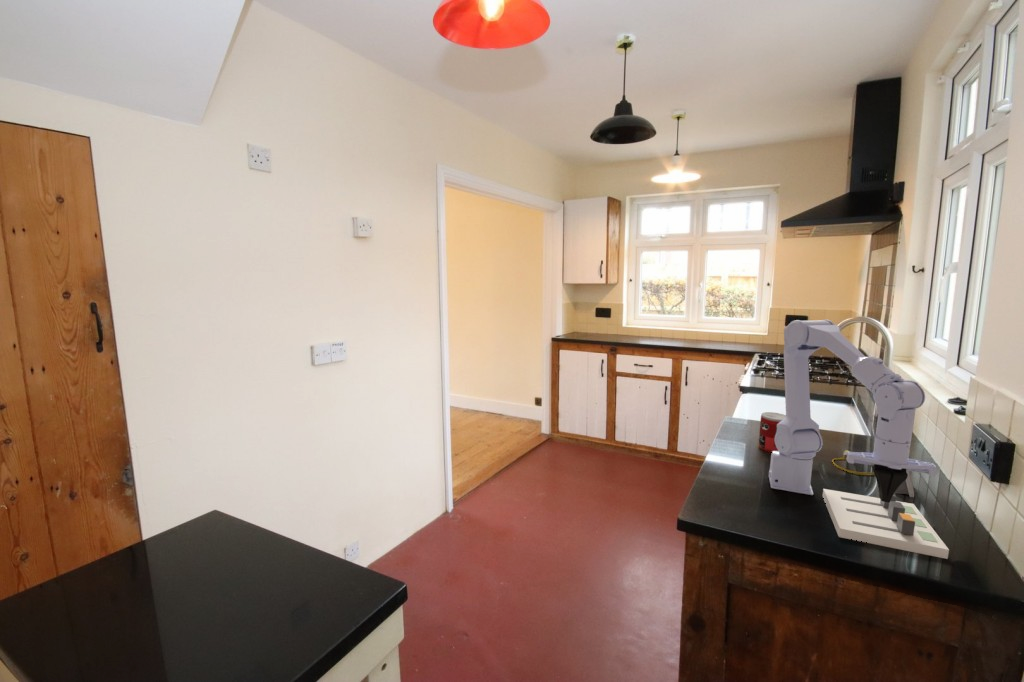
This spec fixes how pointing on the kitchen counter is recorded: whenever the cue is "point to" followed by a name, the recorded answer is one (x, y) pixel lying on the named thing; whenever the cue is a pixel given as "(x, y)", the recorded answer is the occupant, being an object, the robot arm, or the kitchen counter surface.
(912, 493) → the electrical switch
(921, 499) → the kitchen counter surface
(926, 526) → the breaker panel
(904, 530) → the handle
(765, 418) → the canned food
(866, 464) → the extension cord
